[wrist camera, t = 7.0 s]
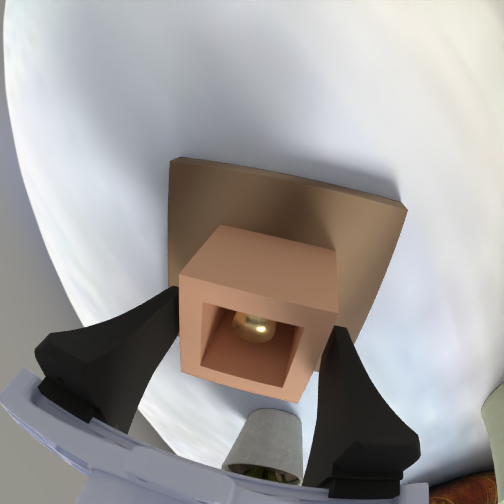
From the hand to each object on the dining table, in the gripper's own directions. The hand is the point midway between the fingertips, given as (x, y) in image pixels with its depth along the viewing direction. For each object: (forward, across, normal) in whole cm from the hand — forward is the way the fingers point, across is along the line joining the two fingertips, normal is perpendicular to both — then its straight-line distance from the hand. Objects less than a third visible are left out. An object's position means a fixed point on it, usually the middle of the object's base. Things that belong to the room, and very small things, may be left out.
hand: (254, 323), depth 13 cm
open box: (+3, 0, 0) cm, 3 cm away
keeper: (+4, 0, 0) cm, 4 cm away
